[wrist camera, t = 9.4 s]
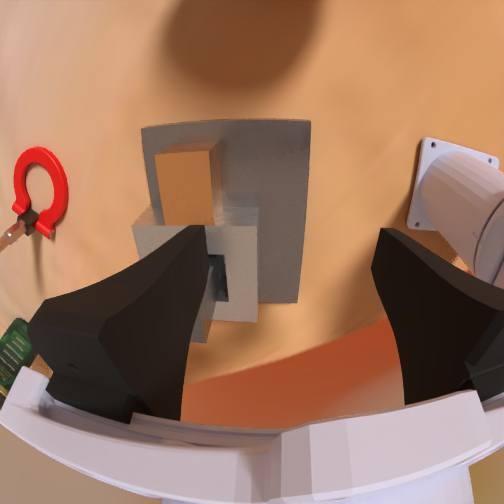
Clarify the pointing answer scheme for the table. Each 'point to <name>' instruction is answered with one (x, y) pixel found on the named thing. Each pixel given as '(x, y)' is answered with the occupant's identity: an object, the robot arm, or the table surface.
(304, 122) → the bracket fixture
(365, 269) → the table surface
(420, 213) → the robot arm
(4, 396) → the coffee jar
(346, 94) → the table surface
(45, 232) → the tow hook
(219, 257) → the pin
